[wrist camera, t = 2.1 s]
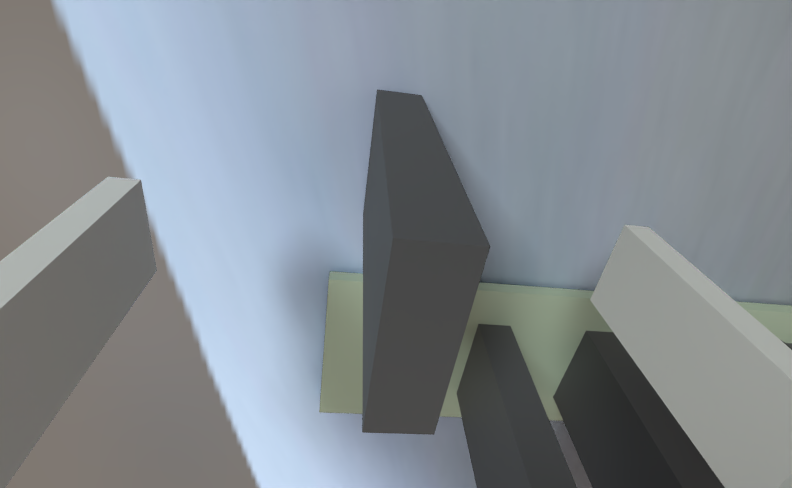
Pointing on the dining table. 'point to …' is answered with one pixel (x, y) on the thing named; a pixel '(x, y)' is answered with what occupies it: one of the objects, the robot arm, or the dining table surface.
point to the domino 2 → (507, 417)
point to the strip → (495, 305)
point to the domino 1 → (413, 268)
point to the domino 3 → (624, 422)
